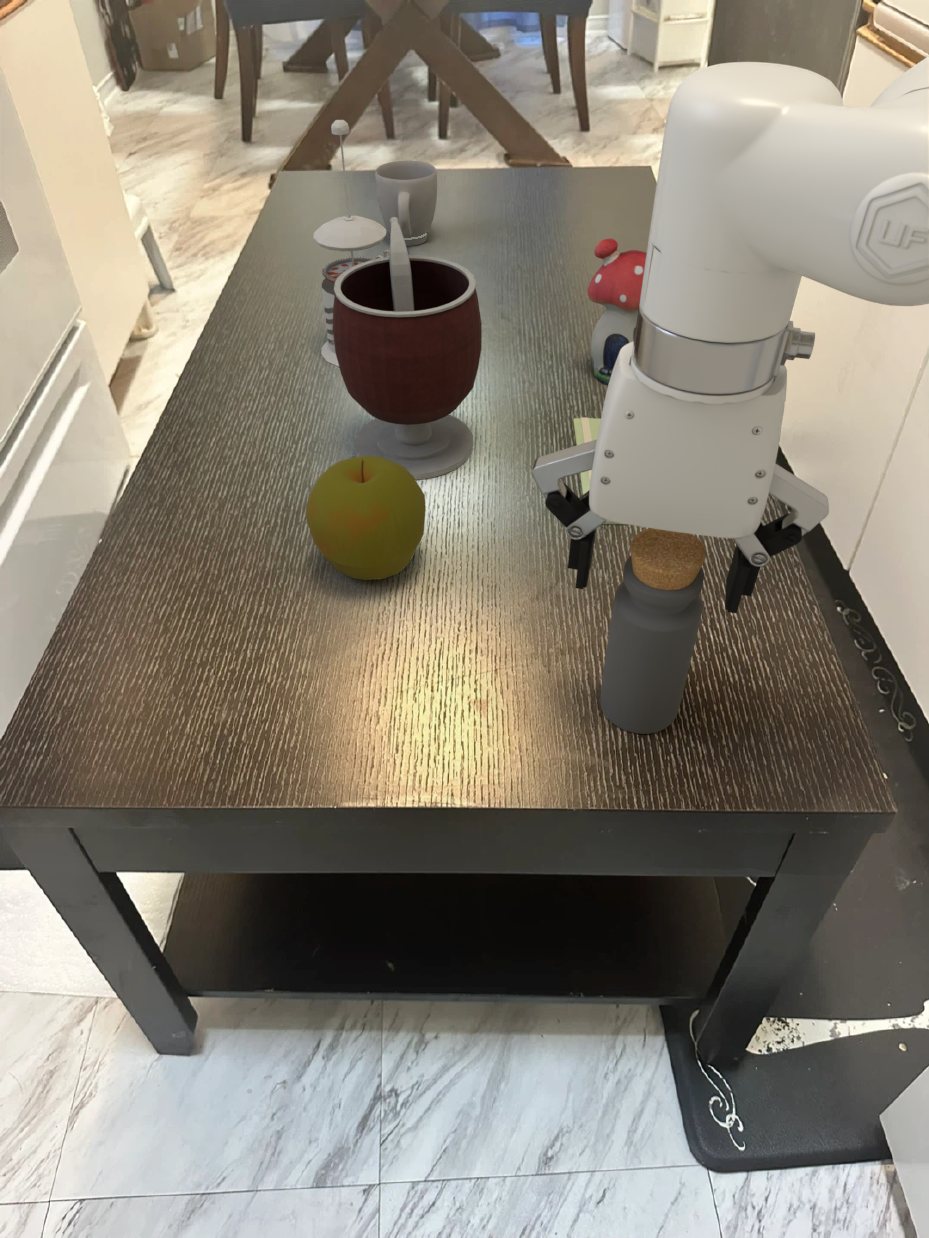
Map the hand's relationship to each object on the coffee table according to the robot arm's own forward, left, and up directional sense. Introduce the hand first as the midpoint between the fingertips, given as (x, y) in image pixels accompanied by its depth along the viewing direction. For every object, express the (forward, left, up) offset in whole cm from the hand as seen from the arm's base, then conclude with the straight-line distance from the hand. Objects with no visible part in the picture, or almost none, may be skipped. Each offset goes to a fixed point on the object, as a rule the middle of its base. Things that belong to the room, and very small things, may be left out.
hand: (656, 586), depth 58 cm
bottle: (0, 0, -12) cm, 12 cm away
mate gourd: (+40, -7, -12) cm, 42 cm away
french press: (+60, -14, -12) cm, 63 cm away
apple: (+26, +7, -12) cm, 29 cm away
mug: (+85, -37, -12) cm, 93 cm away
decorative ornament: (+37, -34, -12) cm, 52 cm away
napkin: (+22, -22, -12) cm, 33 cm away
